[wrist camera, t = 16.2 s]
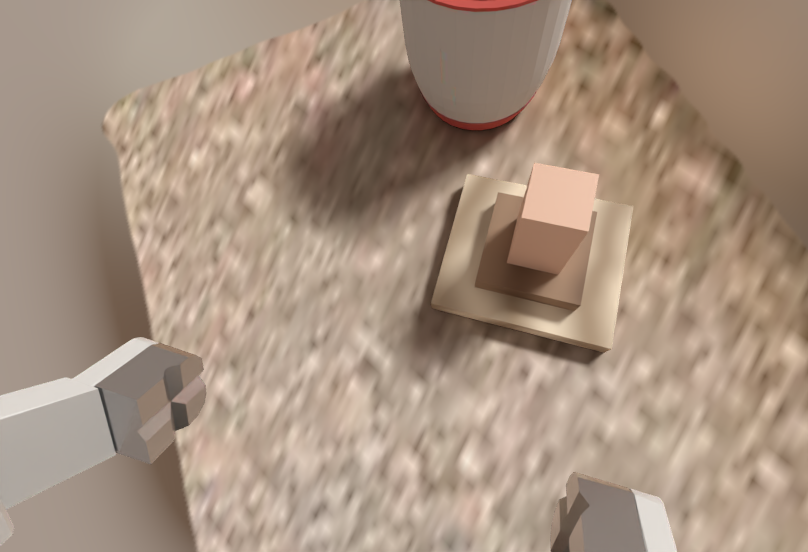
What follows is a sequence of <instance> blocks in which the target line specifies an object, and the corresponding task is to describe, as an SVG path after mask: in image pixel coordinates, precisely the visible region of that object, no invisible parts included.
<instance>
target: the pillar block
mask: <svg viewBox="0 0 808 552" xmlns="http://www.w3.org/2000/svg"><path fill="white" fill-rule="evenodd" d="M598 178H599V174H593V173H588V172H582V171H577V170H571V169H566V168H561V167H555V166H550V165H544V164H539V163H534V165H533V169H532V172H531V175H530V178H529V182H528V185H527V188H526V191H525V195H524V198H523V201H522V204H521V208H520V211H519V214H518V218H517V222H516V226H515V230H514V234H513V238H512V243H511V247H510V251H509V255H508V260H507V263H509V264H513V265H518V266H522V267H526V268H531V269H535V270H539V271H544V272H548V273H553V274H557V275H559V273H560V272H561V271H562V269H563V268H564V266H565V265H566V263H567V262H568V261H569V259H570V258H571V256H572V255H573V253H574V252H575V250H576V249H577V248H578V246H579V245H580V243H581V242H582V240H583V239H584V238H585V236H586V235H587V233H588V232H589V227H590V222H591V216H592V211H593V205H594V200H595V194H596V189H597V183H598Z"/></svg>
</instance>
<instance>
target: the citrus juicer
mask: <svg viewBox="0 0 808 552" xmlns="http://www.w3.org/2000/svg"><path fill="white" fill-rule="evenodd" d="M571 1H572V0H400V7H401V15H402V23H403V31H404V38H405V45H406V50H407V55H408V60H409V64H410V66H411V69H412V72H413V75H414V77H415V80H416V82H417V84H418V87H419V89H420V91H421V93H422V96H423V98H424V99H425V101H426V102H427V103H428V105H429V106H430V108H431V109H432V110H433V111H434V113H435V114H436V115H437V116H438V117H440V118H441V119H442V120H443V121H445V122H447V123H448V124H450V125H452V126H455V127H458V128H461V129H467V130H485V129H491V128H495V127H497V126H500V125H503V124H505V123H506V122H508V121H510V120H511V119H513V118H514V117H515V116H516V115H518V114H519V113H520V112H521V111H522V110H523V109H524V108H525V107H526V105H527V104H528V103H529V102H530V101H531V99H532V98H533V97H534V95H535V93H536V91H537V90H538V88H539V87H540V85H541V84H542V82H543V80H544V78H545V76H546V74H547V72H548V70H549V68H550V66H551V64H552V62H553V60H554V58H555V55H556V53H557V50H558V47H559V44H560V41H561V37H562V34H563V30H564V27H565V23H566V19H567V16H568V12H569V9H570V5H571Z"/></svg>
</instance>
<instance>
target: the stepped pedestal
mask: <svg viewBox="0 0 808 552" xmlns="http://www.w3.org/2000/svg"><path fill="white" fill-rule="evenodd" d="M526 188H527V185H522V184H517V183H511V182H506V181H501V180H496V179H491V178H486V177H480V176H475V175H470V174H467V177H466V180H465V184H464V187H463V191H462V194H461V198H460V201H459V205H458V208H457V212H456V216H455V219H454V223H453V226H452V230H451V233H450V237H449V240H448V244H447V248H446V251H445V255H444V258H443V262H442V265H441V269H440V272H439V276H438V279H437V283H436V287H435V290H434V294H433V297H432V301H431V306H432V309H436V310H440V311H444V312H448V313H452V314H455V315H459V316H463V317H467V318H471V319H475V320H479V321H483V322H487V323H490V324H494V325H498V326H502V327H506V328H510V329H514V330H518V331H522V332H526V333H529V334H533V335H537V336H541V337H545V338H549V339H553V340H557V341H561V342H564V343H568V344H572V345H576V346H580V347H584V348H588V349H592V350H596V351H600V352H603V353H604V352H606V351H608V350H611V349H612V343H613V336H614V330H615V323H616V317H617V310H618V304H619V297H620V290H621V284H622V277H623V271H624V264H625V258H626V251H627V244H628V238H629V231H630V225H631V218H632V212H633V206H630V205H625V204H620V203H615V202H610V201H604V200H599V199H595V200H594V205H593V211H592V216H591V222H590V227H589V232H588V233H587V235H586V236H585V238H584V239H583V240H582V242H581V243H580V245H579V246H578V248H577V249H576V250H575V252H574V253H573V255H572V256H571V258H570V259H569V261H568V262H567V263H566V265H565V266H564V268H563V269H562V271H561V272H560V273H559V275H557V274H553V273H548V272H544V271H539V270H535V269H531V268H526V267H522V266H518V265H513V264H509V263H507V260H508V255H509V251H510V247H511V243H512V238H513V234H514V230H515V226H516V222H517V218H518V214H519V211H520V208H521V204H522V201H523V198H524V195H525V191H526Z"/></svg>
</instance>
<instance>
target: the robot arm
mask: <svg viewBox="0 0 808 552" xmlns="http://www.w3.org/2000/svg"><path fill="white" fill-rule="evenodd" d="M203 370H204V369H203V363H202V358H200V357H198V356H196V355H194V354H191V353H188V352H185V351H182V350H179V349H176V348H173V347H171V346H168V345H165V344H162V343H158V342H155V341H152V340H149V339H146V338H143V337H139V338H135V339H132V340H130V341H129V342H127V343H126V344H124V345H123V346H121V347H120V348H118V349H117V350H115V351H114V352H112V353H111V354H109V355H108V356H106V357H105V358H103V359H102V360H100V361H99V362H97V363H96V364H94V365H93V366H91V367H90V368H88V369H87V370H85V371H84V372H82V373H81V374H79V375H78V376H76V377H75V378H73V379H69V378H62V379H58V380H55V381H52V382H48V383H44V384H40V385H37V386H33V387H29V388H26V389H22V390H18V391H15V392H11V393H8V394H4V395H0V546H1V545H2V544H3V543H4V542H5V541H6V540H7V539H8V538H9V537H11V536H12V534H13V530H14V525H13V523H12V521H11V519H10V517H9V515H8V513H7V511H6V509H8V508H10V507H12V506H14V505H16V504H18V503H20V502H22V501H24V500H26V499H28V498H30V497H32V496H34V495H36V494H39V493H41V492H43V491H45V490H46V489H49V488H50V487H52V486H55V485H57V484H59V483H61V482H62V481H64V480H67V479H69V478H70V477H73V476H75V475H77V474H79V473H81V472H82V471H85V470H87V469H89V468H91V467H93V466H95V465H97V464H99V463H101V462H103V461H105V460H107V459H109V458H111V457H113V456H115V455H116V453H119V454H122V455H125V456H128V457H131V458H134V459H136V460H140V461H143V462H145V463H148V464H152V462H154V460H155V459H156V458H157V457H158V456H159V455H160V454H161V453H162V452H163V451H164V450H165V449H166V448H167V447H168V446H169V445H170V444H171V443H172V442H173V441H174V438H175V431H176V430H179V429H181V428H184V427H186V426H189V425H190V424H191V423H192V422H193V420H194V419H195V418H196V417H197V416H198V415H199V413H200V411H201V409H202V407H203V405H204V403H205V398H206V385H205V384H204V382H203V381H202V379H201V378H200V377H199V375H200V374H201V372H202V371H203ZM566 494H567V496H566V497H564V498H562V499H559V501H558V504H557V506H556V509H555V511H554V516H553V520H552V525H551V537H550V542H551V552H677V549H676V545H675V542H674V538H673V535H672V531H671V528H670V524H669V521H668V517H667V514H666V510H665V506H664V503H663V502H662V501H661V499H660V498H659V497H656V496H653V495H650V494H646V493H643V492H640V491H636V490H633V489H628V488H627V487H623V486H620V485H617V484H613V483H610V482H607V481H603V480H600V479H597V478H593V477H590V476H586V475H583V474H580V473H576V472H573V473H572V474H571V475H570V477H569V479H568V481H567V483H566Z"/></svg>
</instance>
